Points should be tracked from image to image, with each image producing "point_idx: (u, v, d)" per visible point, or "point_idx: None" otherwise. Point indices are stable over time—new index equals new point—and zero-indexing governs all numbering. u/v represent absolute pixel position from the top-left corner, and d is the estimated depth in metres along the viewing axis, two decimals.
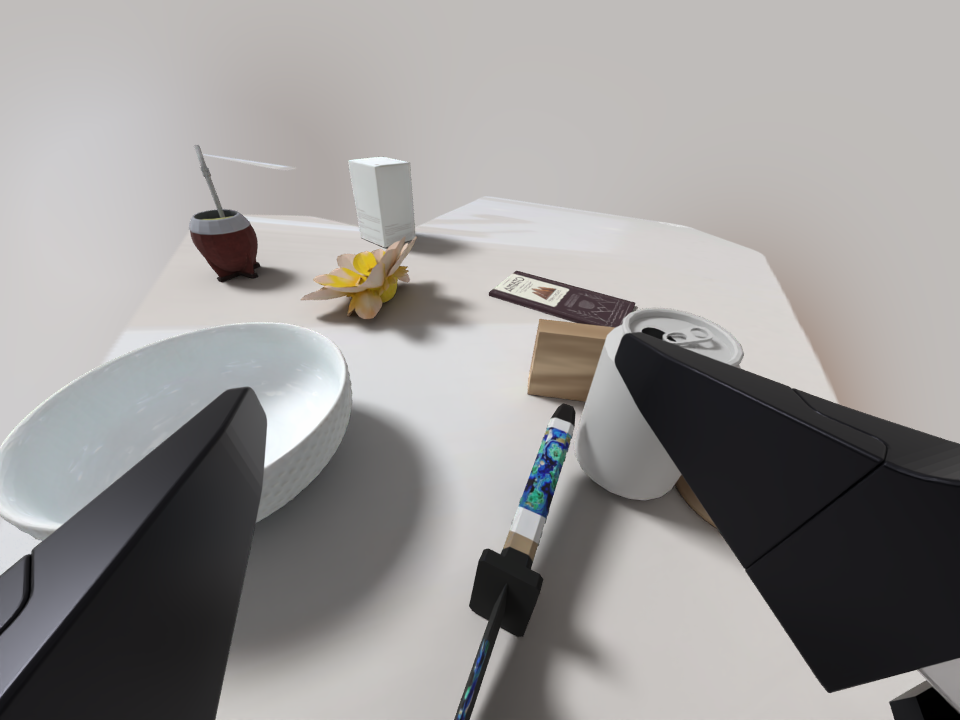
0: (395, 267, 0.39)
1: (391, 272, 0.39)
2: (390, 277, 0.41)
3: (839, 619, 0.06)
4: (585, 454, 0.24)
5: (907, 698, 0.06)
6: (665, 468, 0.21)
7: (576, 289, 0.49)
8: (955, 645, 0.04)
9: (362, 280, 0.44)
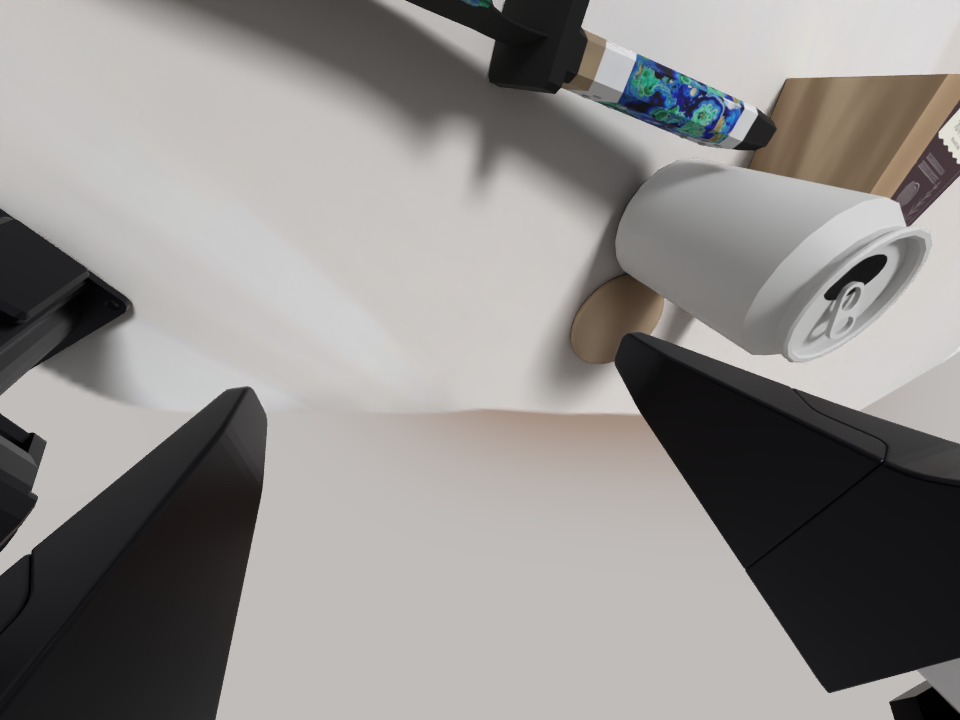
0: None
1: None
2: None
3: (839, 619, 0.06)
4: (679, 172, 0.19)
5: (907, 698, 0.06)
6: (653, 265, 0.19)
7: (950, 178, 0.28)
8: (954, 645, 0.04)
9: None
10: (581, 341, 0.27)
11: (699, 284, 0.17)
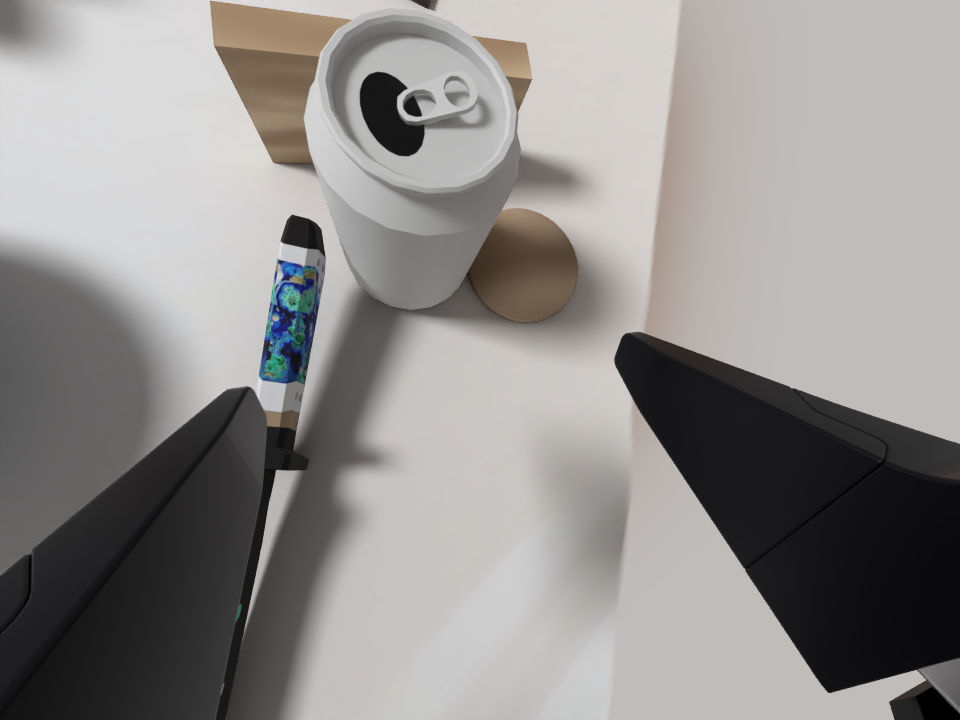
0: None
1: None
2: None
3: (839, 619, 0.06)
4: (354, 272, 0.19)
5: (907, 698, 0.06)
6: (439, 287, 0.17)
7: None
8: (955, 645, 0.04)
9: None
10: (546, 307, 0.23)
11: (441, 263, 0.14)
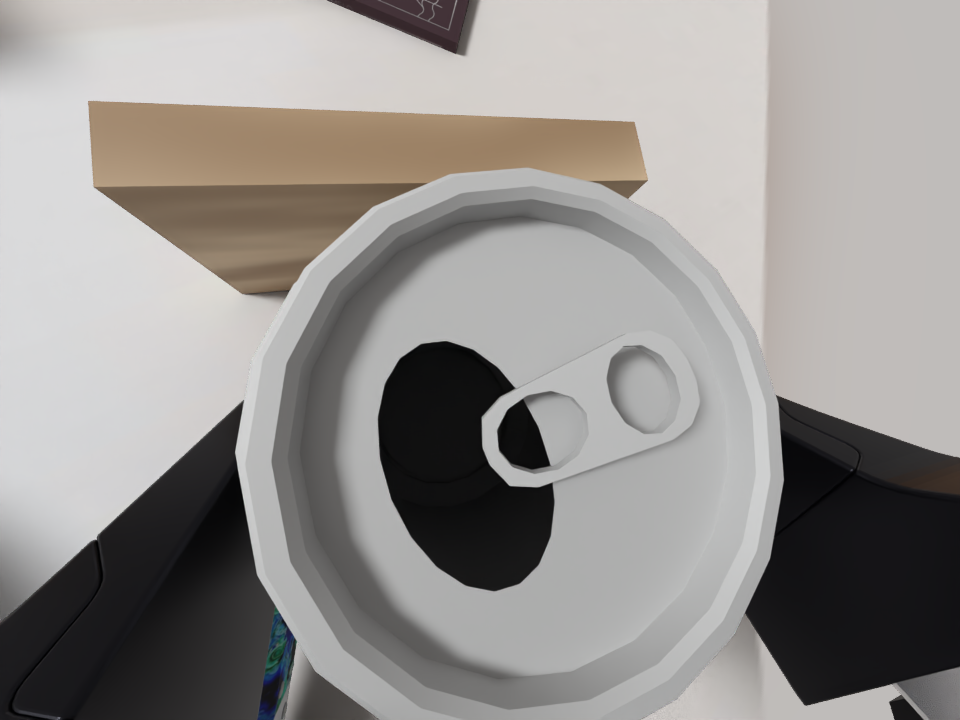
0: None
1: None
2: None
3: (814, 631, 0.06)
4: None
5: None
6: (505, 524, 0.11)
7: None
8: (927, 661, 0.04)
9: None
10: None
11: None
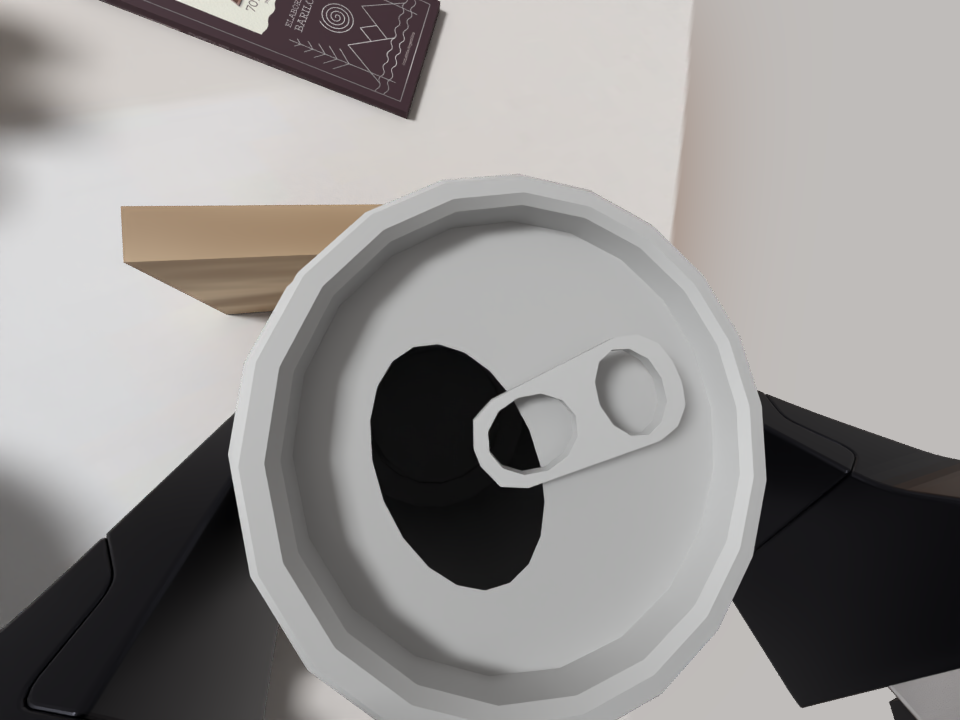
0: None
1: None
2: None
3: (810, 633, 0.06)
4: None
5: None
6: (498, 524, 0.11)
7: None
8: (922, 663, 0.04)
9: None
10: None
11: None
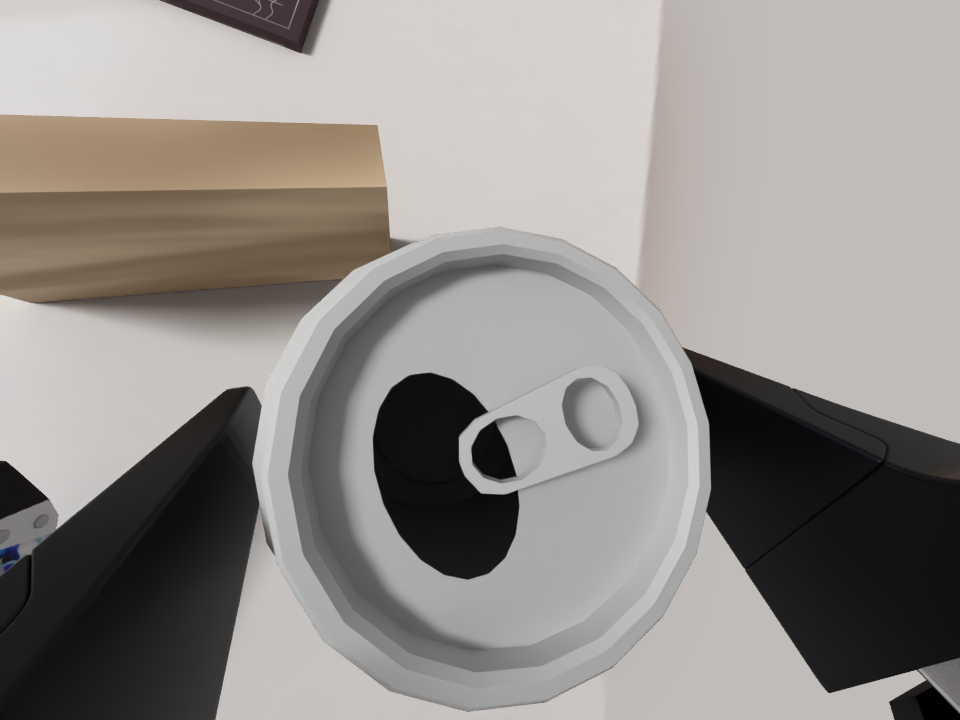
0: None
1: None
2: None
3: (839, 619, 0.06)
4: None
5: (907, 698, 0.06)
6: (491, 523, 0.11)
7: None
8: (955, 645, 0.04)
9: None
10: None
11: None
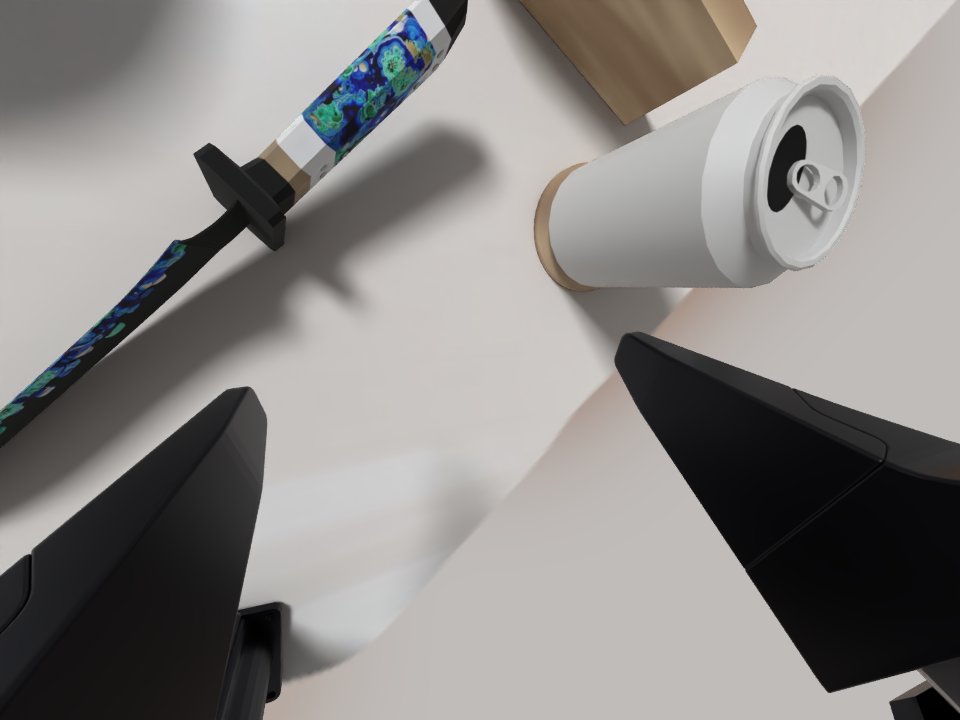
0: None
1: None
2: None
3: (839, 619, 0.06)
4: (563, 216, 0.19)
5: (907, 698, 0.06)
6: (623, 284, 0.19)
7: None
8: (955, 645, 0.04)
9: None
10: None
11: (671, 281, 0.16)
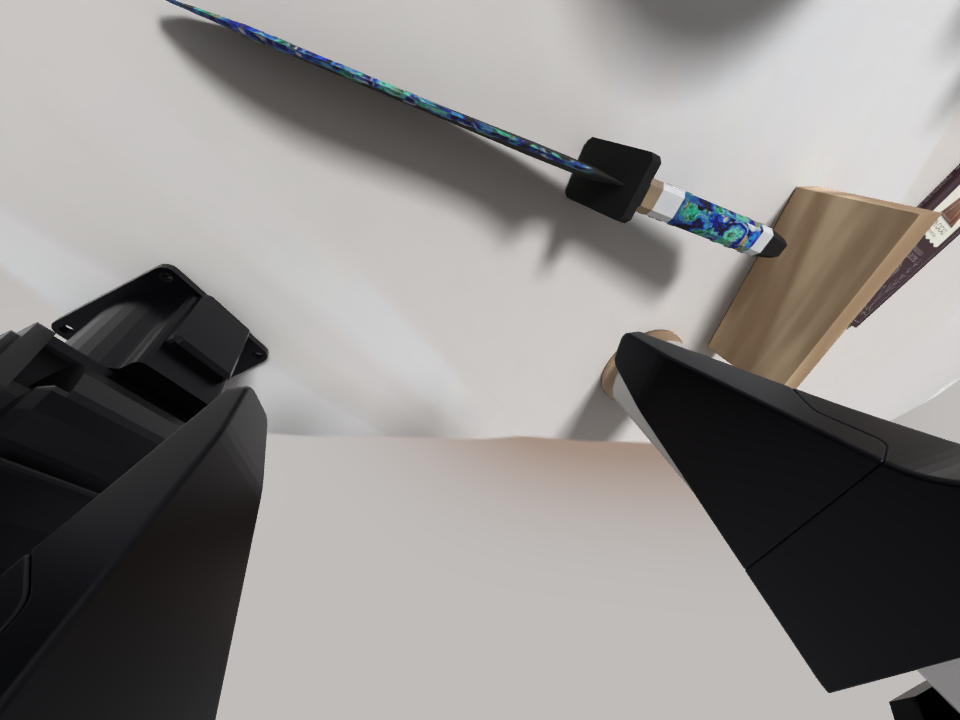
0: None
1: None
2: None
3: (839, 619, 0.06)
4: None
5: (907, 698, 0.06)
6: (637, 418, 0.27)
7: (928, 257, 0.33)
8: (955, 645, 0.04)
9: None
10: (610, 383, 0.31)
11: None
